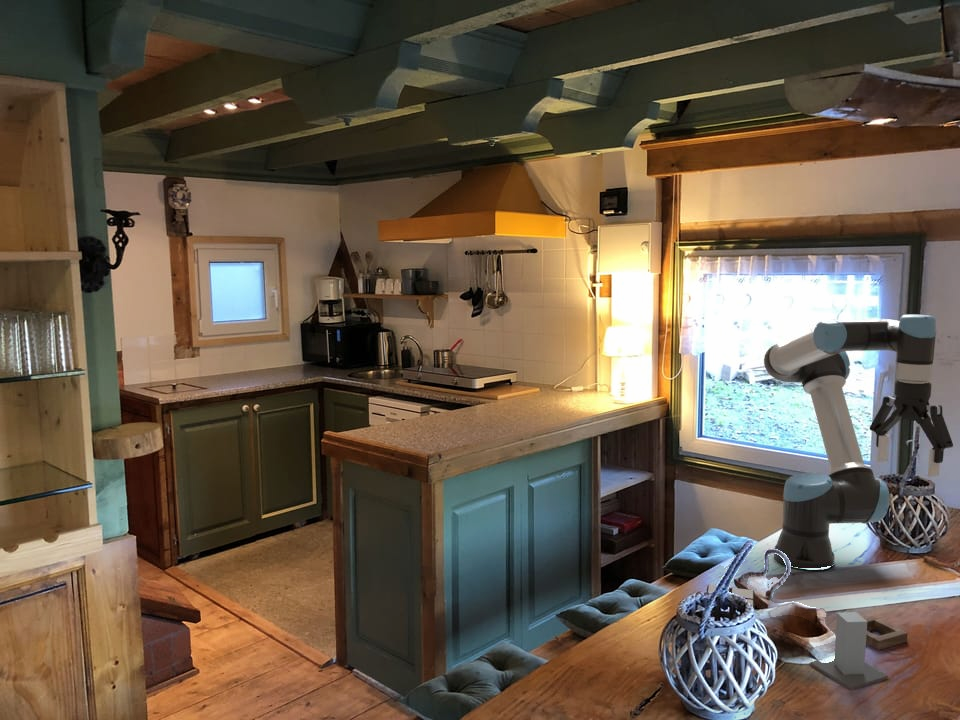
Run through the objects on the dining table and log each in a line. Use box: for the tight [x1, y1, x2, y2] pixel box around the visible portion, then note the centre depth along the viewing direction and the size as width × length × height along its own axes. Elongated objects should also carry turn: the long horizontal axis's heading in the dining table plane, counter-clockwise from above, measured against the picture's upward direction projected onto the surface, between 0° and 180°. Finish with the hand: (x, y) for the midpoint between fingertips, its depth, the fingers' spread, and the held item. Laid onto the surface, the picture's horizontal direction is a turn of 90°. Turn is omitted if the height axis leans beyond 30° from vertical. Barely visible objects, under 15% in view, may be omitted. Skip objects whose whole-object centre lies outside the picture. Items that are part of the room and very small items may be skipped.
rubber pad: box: [809, 660, 889, 691], centre depth 156 cm, size 10×10×1 cm
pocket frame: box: [863, 615, 909, 651], centre depth 169 cm, size 9×9×2 cm
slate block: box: [834, 611, 868, 675], centre depth 155 cm, size 4×4×11 cm
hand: (907, 468), depth 186 cm, fingers open, 13 cm apart
